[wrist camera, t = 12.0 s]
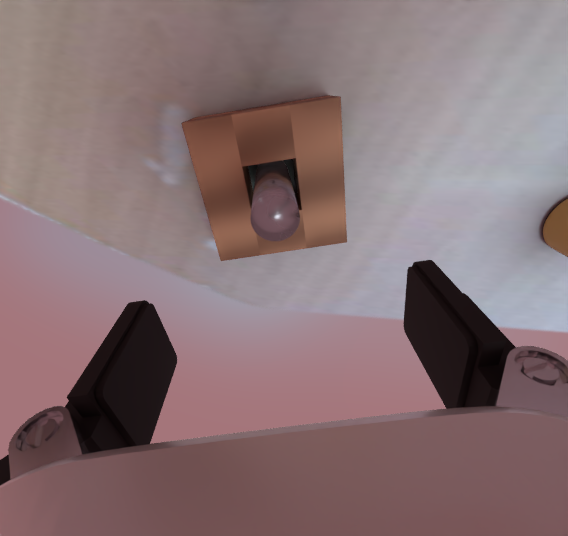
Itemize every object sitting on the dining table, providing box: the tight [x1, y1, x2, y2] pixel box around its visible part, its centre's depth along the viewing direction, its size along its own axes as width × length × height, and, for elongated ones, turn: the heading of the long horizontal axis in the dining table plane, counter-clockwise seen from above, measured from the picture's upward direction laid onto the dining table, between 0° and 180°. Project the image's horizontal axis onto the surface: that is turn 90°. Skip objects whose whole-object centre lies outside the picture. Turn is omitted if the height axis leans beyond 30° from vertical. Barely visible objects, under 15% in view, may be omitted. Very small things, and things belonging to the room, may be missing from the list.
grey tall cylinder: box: [250, 160, 300, 241], centre depth 25 cm, size 3×3×12 cm
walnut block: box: [181, 95, 347, 261], centre depth 28 cm, size 12×12×5 cm
